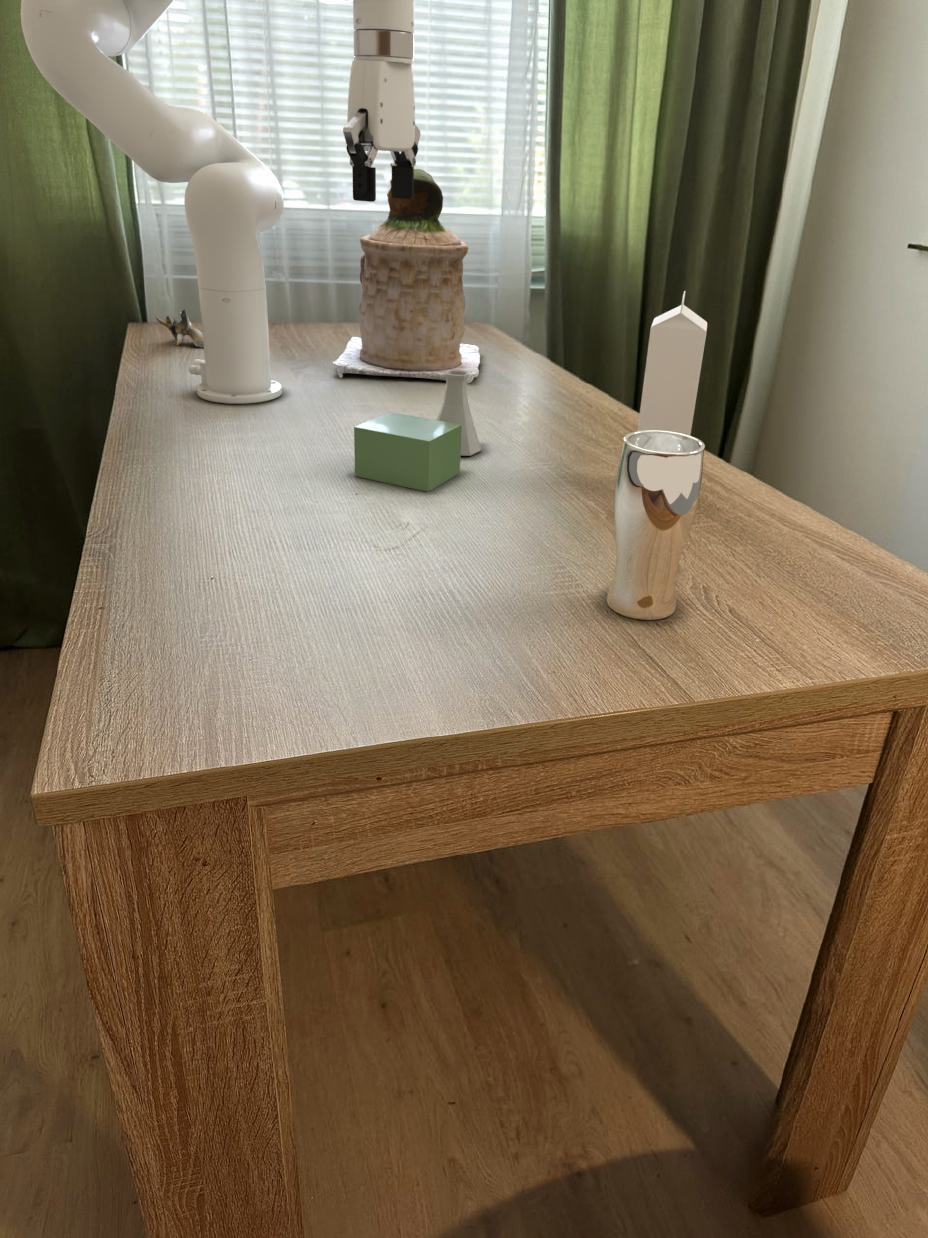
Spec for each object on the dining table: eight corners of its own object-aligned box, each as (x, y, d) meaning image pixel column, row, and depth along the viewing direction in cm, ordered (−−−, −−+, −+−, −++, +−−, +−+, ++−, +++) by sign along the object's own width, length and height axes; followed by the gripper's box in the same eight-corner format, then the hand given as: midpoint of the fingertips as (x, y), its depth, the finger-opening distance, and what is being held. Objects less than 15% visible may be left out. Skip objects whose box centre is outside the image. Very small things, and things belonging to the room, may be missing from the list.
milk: (629, 491, 109) (653, 296, 98) (633, 475, 114) (656, 288, 104) (682, 497, 108) (711, 300, 97) (683, 480, 113) (711, 291, 102)
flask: (476, 460, 117) (479, 381, 112) (420, 454, 118) (422, 376, 113) (486, 444, 123) (490, 368, 118) (433, 438, 124) (435, 363, 119)
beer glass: (594, 587, 85) (612, 428, 78) (667, 587, 86) (692, 429, 79) (611, 623, 79) (633, 453, 72) (690, 622, 79) (719, 454, 72)
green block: (354, 476, 109) (353, 426, 107) (389, 458, 116) (389, 411, 113) (428, 492, 106) (429, 441, 103) (460, 473, 112) (461, 424, 109)
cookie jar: (479, 385, 152) (490, 169, 137) (330, 378, 152) (324, 161, 137) (480, 353, 173) (489, 164, 158) (350, 347, 173) (346, 157, 158)
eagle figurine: (149, 337, 168) (182, 335, 164) (159, 301, 169) (191, 297, 164) (182, 355, 175) (214, 353, 170) (191, 320, 176) (223, 317, 171)
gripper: (393, 55, 124) (393, 195, 132) (319, 43, 110) (323, 199, 118) (442, 56, 121) (439, 198, 129) (372, 43, 107) (373, 204, 115)
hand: (384, 199), depth 124 cm, fingers open, 9 cm apart
